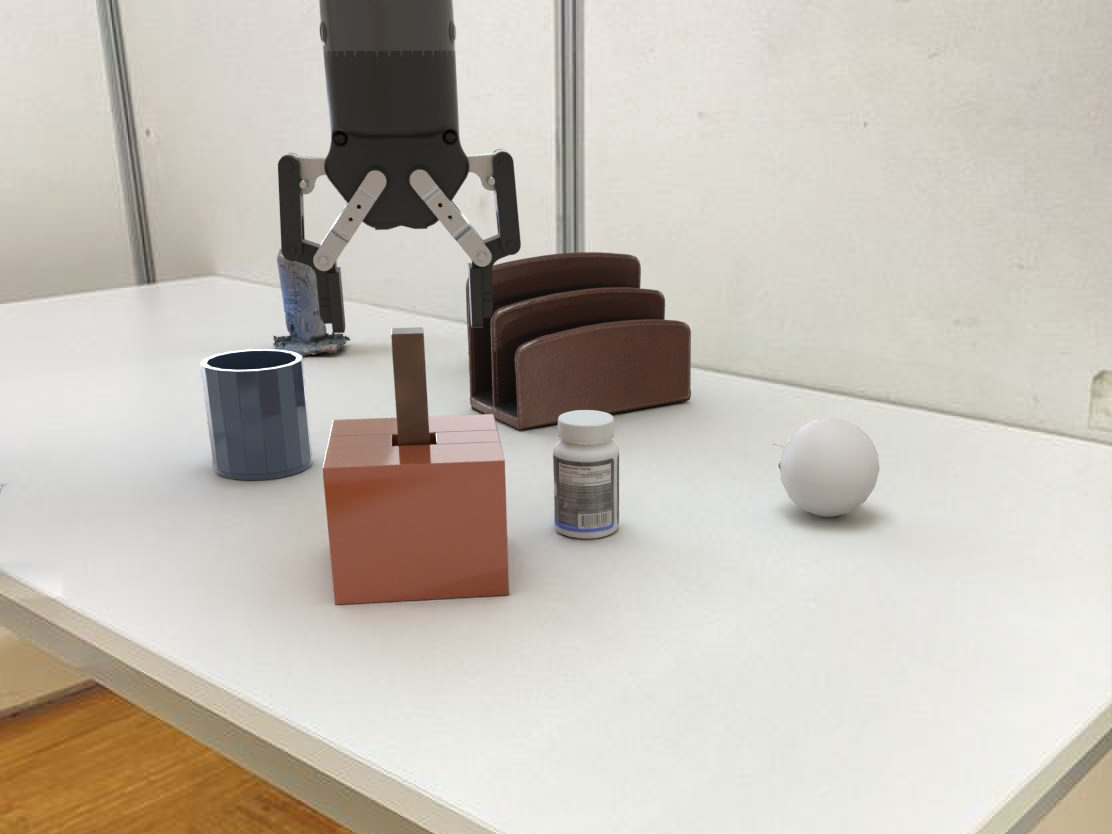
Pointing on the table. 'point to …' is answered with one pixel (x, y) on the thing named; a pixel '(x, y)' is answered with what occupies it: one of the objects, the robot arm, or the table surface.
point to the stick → (410, 386)
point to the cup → (257, 413)
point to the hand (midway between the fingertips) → (408, 328)
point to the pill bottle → (586, 475)
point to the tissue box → (416, 511)
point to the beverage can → (303, 312)
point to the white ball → (829, 467)
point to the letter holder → (575, 341)
